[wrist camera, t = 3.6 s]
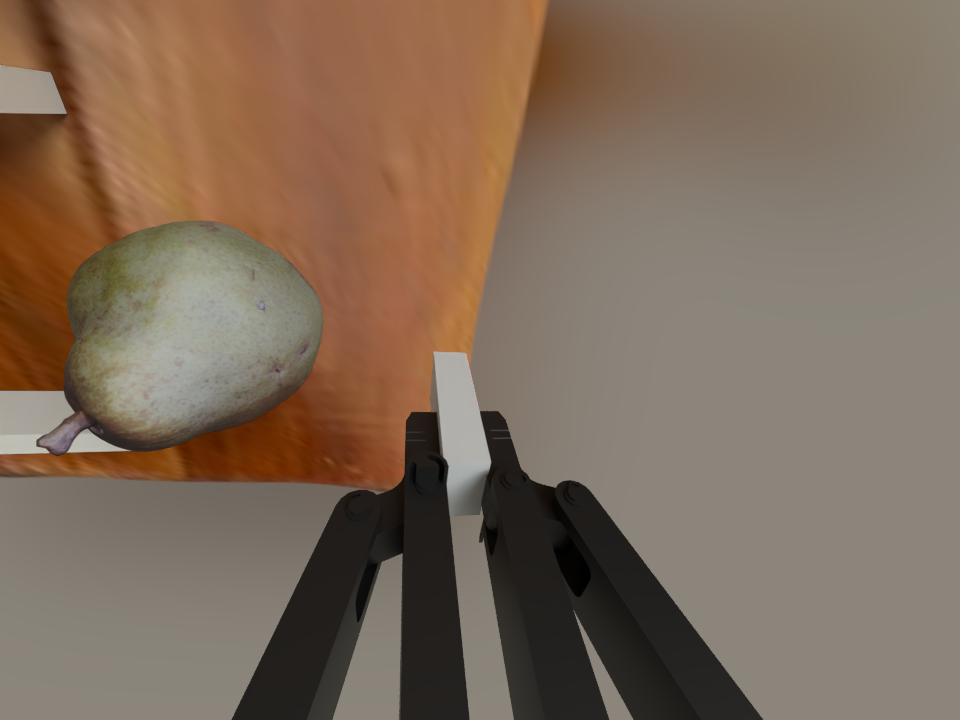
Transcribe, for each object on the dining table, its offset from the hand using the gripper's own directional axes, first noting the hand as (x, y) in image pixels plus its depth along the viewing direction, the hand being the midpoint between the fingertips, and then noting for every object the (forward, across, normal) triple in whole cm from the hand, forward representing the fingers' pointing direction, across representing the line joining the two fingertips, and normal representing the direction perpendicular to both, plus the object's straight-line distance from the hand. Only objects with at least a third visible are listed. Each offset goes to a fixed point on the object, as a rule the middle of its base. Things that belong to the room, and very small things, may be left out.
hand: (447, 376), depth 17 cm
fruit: (+9, -11, 0) cm, 14 cm away
